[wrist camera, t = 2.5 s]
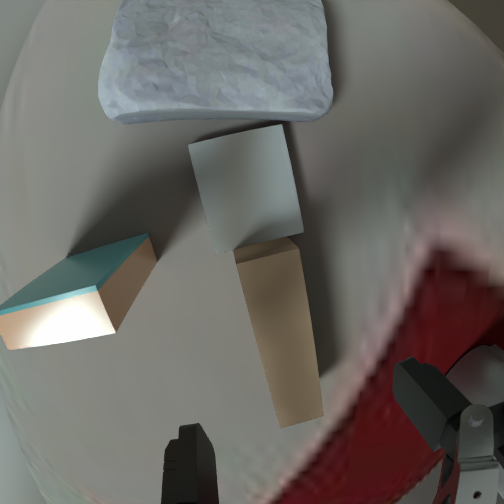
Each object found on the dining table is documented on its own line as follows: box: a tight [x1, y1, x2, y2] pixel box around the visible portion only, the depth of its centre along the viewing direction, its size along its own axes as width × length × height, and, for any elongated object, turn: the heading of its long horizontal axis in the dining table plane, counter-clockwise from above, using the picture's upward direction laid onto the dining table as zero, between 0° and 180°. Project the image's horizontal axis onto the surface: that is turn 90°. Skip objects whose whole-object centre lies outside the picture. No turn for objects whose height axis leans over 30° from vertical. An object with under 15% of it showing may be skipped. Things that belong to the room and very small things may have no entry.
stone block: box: [98, 0, 333, 124], centre depth 12 cm, size 12×5×10 cm
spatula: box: [188, 124, 324, 428], centre depth 16 cm, size 5×18×4 cm, turn 13°
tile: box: [0, 233, 157, 350], centre depth 12 cm, size 6×2×8 cm, turn 103°
